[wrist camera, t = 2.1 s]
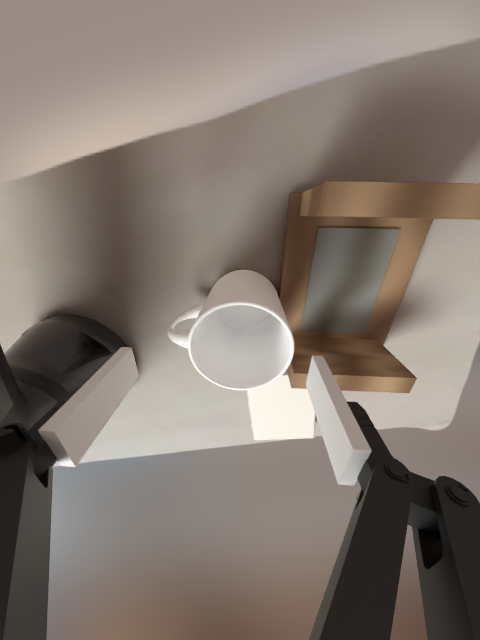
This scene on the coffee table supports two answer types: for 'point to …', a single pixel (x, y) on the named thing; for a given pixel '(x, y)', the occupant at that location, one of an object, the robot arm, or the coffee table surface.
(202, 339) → the mug
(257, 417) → the white rectangular block
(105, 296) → the coffee table surface
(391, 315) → the cradle
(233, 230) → the coffee table surface
